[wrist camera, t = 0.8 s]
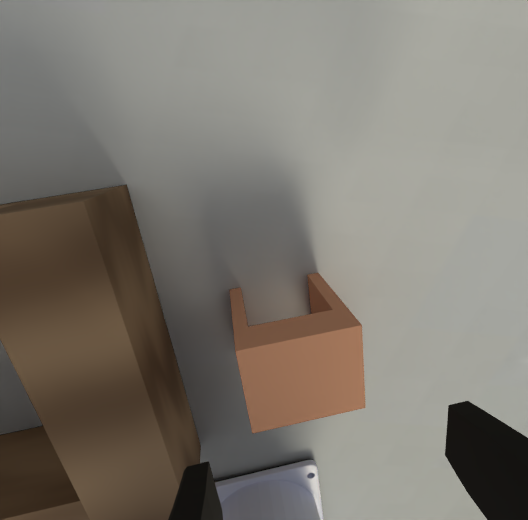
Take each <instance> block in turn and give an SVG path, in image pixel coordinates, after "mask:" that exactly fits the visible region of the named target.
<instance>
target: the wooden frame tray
mask: <svg viewBox="0 0 528 520" xmlns="http://www.w3.org/2000/svg"><path fill="white" fill-rule="evenodd" d="M0 340H1V342H2V344H3V346H4V348H5V350H6V352H7V354H8V356H9V358H10V360H11V362H12V364H13V366H14V368H15V370H16V372H17V374H18V376H19V378H20V380H21V382H22V384H23V386H24V388H25V390H26V392H27V394H28V396H29V398H30V400H31V402H32V404H33V406H34V408H35V410H36V412H37V414H38V416H39V418H40V420H41V422H42V424H43V426H41V427H36V428H31V429H27V430H22V431H17V432H13V433H8V434H4V435H0V520H168V519H169V516H170V513H171V510H172V507H173V504H174V501H175V498H176V495H177V492H178V489H179V486H180V482H181V479H182V475H183V472H184V470H185V469H186V467H187V466H192V465H196V464H200V450H201V445H200V442H199V438H198V435H197V431H196V428H195V424H194V421H193V417H192V414H191V410H190V407H189V403H188V400H187V396H186V393H185V389H184V385H183V382H182V378H181V375H180V371H179V368H178V364H177V361H176V357H175V354H174V350H173V347H172V343H171V340H170V336H169V333H168V329H167V326H166V322H165V319H164V315H163V312H162V308H161V304H160V301H159V297H158V294H157V290H156V287H155V283H154V280H153V276H152V273H151V269H150V266H149V262H148V259H147V255H146V252H145V248H144V245H143V241H142V238H141V234H140V231H139V227H138V224H137V220H136V216H135V213H134V209H133V206H132V202H131V199H130V195H129V192H128V188H127V185H122V186H116V187H109V188H103V189H97V190H90V191H84V192H78V193H71V194H65V195H59V196H52V197H46V198H40V199H33V200H27V201H20V202H14V203H8V204H1V205H0Z"/></svg>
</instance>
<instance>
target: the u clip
mask: <svg viewBox="0 0 528 520" xmlns="http://www.w3.org/2000/svg"><path fill="white" fill-rule="evenodd" d="M307 277H308V286H309V296H310V306H311V314H309V315H304V316H299V317H294V318H289V319H284V320H279V321H274V322H269V323H264V324H259V325H254V326H249V327H248V324H247V318H246V313H245V307H244V302H243V297H242V291H241V287H240V288H235V289H230V300H231V310H232V321H233V331H234V341H235V352H236V356H237V361H238V366H239V371H240V376H241V381H242V386H243V390H244V395H245V400H246V405H247V410H248V415H249V420H250V424H251V429H252V434H253V433H257V432H262V431H266V430H270V429H275V428H279V427H283V426H288V425H292V424H297V423H301V422H305V421H310V420H314V419H318V418H323V417H327V416H331V415H336V414H340V413H344V412H349V411H353V410H357V409H362V408H365V386H364V363H363V341H362V325H361V324H360V322H359V321H358V320H357V319H356V318H355V316H354V315H353V314H352V313H351V312H350V310H349V309H348V308H347V307H346V306H345V304H344V303H343V302H342V301H341V300H340V298H339V297H338V296H337V295H336V294H335V292H334V291H333V290H332V289H331V288H330V286H329V285H328V284H327V283H326V282H325V280H324V279H323V278H322V277H321V276H320V274H319V273H314V274H309V275H307Z"/></svg>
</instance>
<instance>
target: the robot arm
mask: <svg viewBox="0 0 528 520" xmlns="http://www.w3.org/2000/svg"><path fill="white" fill-rule="evenodd" d="M445 456H446V457H447V459H448V461H449V462H450V464H451V466H452V468H453V469H454V471H455V473H456V474H457V476H458V478H459V479H460V481H461V483H462V484H463V486H464V487H465V489H466V491H467V492H468V494H469V495H470V496H471V498H472V499H473V501H474V502H475V503H476V505H477V506H478V507H479V509H480V510H481V512H482V513H483V514H484V516H485V517H486V518H487V520H528V438H527V437H525V436H524V435H522V434H521V433H519V432H517V431H516V430H514V429H513V428H511V427H509V426H508V425H506V424H505V423H503V422H501V421H500V420H498V419H497V418H495V417H493V416H492V415H490V414H488V413H487V412H485V411H484V410H482V409H480V408H479V407H477V406H475V405H474V404H472V403H470V402H469V401H465V402H461V403H456V404H452V405H449V408H448V422H447V436H446V450H445ZM168 520H324V518H323V510H322V501H321V493H320V485H319V476H318V468H317V465H316V462H315V461H314V460H306V461H302V462H297V463H293V464H289V465H285V466H281V467H277V468H273V469H268V470H264V471H260V472H256V473H252V474H248V475H243V476H239V477H235V478H231V479H227V480H223V481H218V482H214V478H213V475H212V471H211V468H210V464H209V462H204V463H200V464H196V465H192V466H187V467H186V469H185V470H184V472H183V475H182V479H181V482H180V486H179V489H178V492H177V495H176V498H175V501H174V504H173V507H172V510H171V513H170V516H169V519H168Z"/></svg>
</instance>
